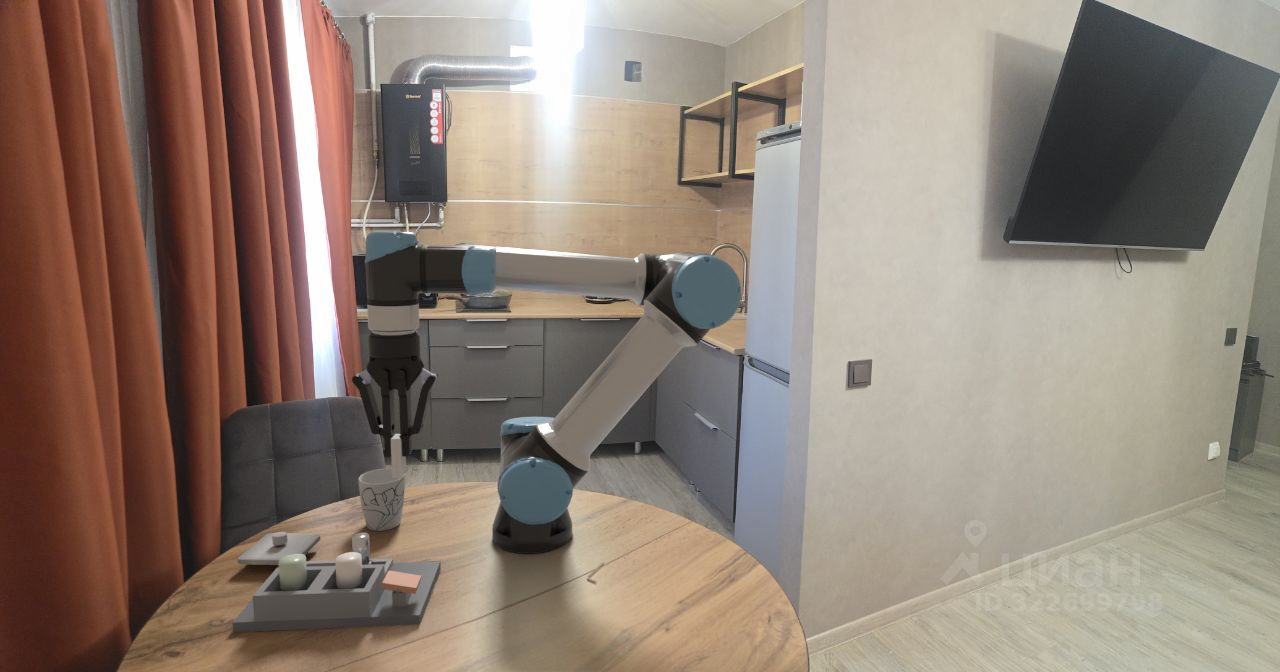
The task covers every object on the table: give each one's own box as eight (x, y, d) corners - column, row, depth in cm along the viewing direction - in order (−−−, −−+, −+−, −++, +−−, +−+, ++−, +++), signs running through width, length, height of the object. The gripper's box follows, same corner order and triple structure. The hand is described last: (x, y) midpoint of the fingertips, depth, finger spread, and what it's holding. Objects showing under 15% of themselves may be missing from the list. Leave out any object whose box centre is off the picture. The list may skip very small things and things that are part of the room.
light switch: (295, 576, 110) (293, 547, 109) (236, 575, 109) (234, 546, 109) (322, 547, 119) (321, 521, 118) (268, 547, 119) (266, 520, 118)
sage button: (311, 577, 100) (309, 553, 99) (301, 590, 96) (300, 565, 96) (286, 578, 99) (284, 554, 99) (276, 591, 96) (274, 566, 95)
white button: (365, 576, 101) (364, 551, 100) (358, 588, 97) (357, 563, 97) (341, 576, 100) (340, 552, 100) (333, 589, 97) (331, 564, 96)
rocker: (420, 582, 102) (421, 575, 102) (414, 596, 98) (416, 588, 98) (387, 577, 101) (388, 570, 101) (380, 591, 97) (382, 583, 97)
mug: (382, 507, 137) (381, 461, 135) (421, 510, 136) (419, 464, 134) (351, 532, 126) (349, 482, 124) (393, 535, 124) (391, 485, 123)
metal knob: (373, 567, 109) (371, 532, 108) (368, 575, 107) (366, 539, 106) (355, 567, 109) (354, 532, 108) (350, 576, 106) (348, 540, 105)
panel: (440, 569, 112) (439, 539, 112) (419, 624, 97) (418, 589, 96) (281, 574, 110) (279, 543, 109) (233, 632, 94) (230, 596, 93)
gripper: (441, 327, 107) (444, 466, 110) (358, 327, 105) (364, 467, 109) (432, 335, 99) (436, 483, 103) (342, 334, 98) (349, 484, 102)
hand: (399, 474), depth 106 cm, fingers closed
